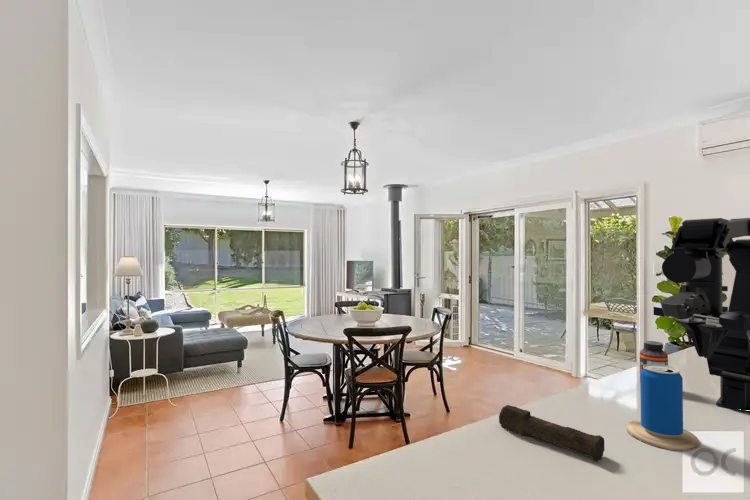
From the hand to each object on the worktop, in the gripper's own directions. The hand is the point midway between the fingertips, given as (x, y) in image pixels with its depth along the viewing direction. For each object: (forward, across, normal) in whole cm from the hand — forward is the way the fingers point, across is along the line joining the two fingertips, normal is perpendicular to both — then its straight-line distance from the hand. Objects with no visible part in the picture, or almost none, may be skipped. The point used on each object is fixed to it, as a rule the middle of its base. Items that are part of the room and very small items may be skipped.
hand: (704, 357), depth 81 cm
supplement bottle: (+13, -19, +7) cm, 24 cm away
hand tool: (+14, +1, -37) cm, 39 cm away
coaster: (+13, +4, -14) cm, 20 cm away
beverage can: (+12, +4, -14) cm, 19 cm away
